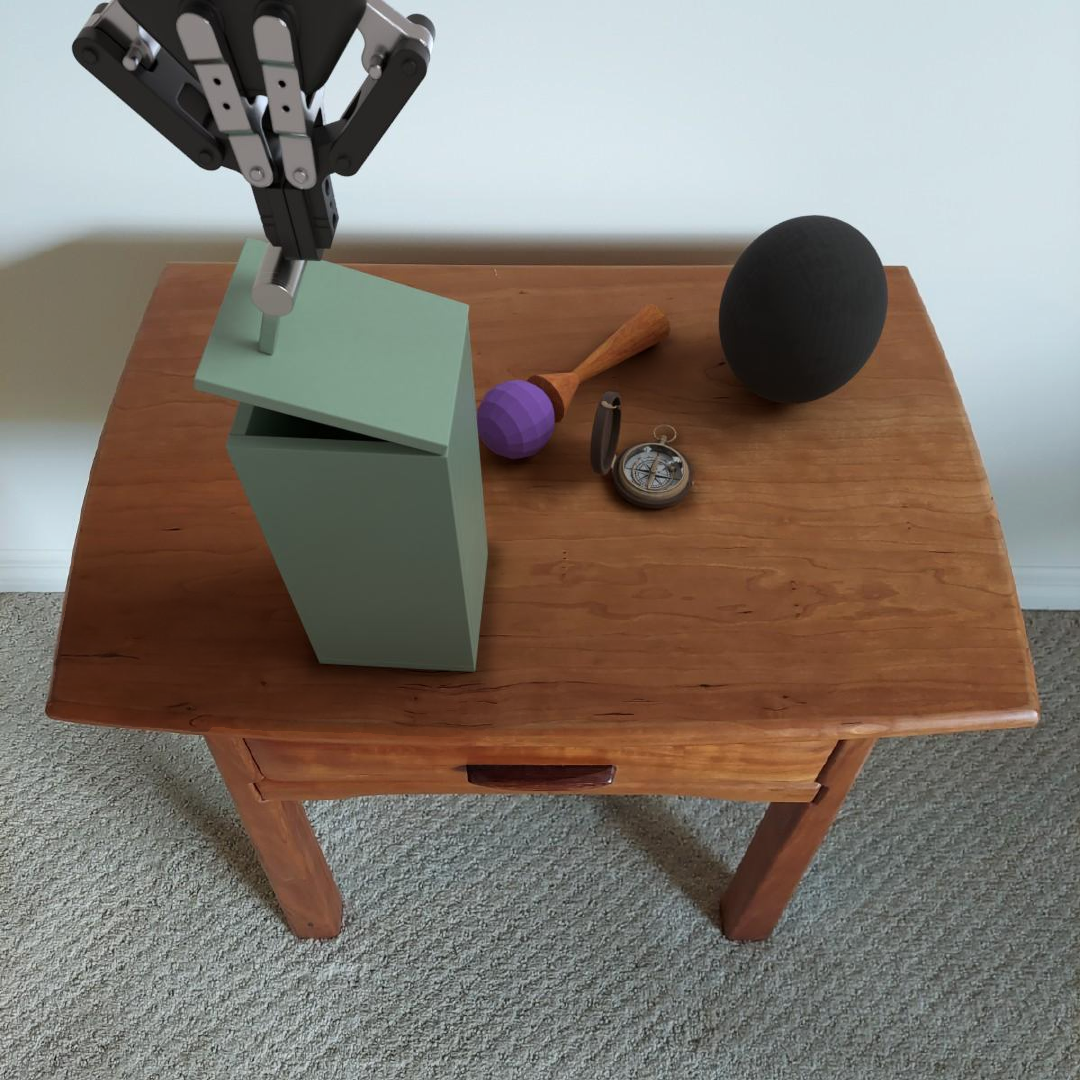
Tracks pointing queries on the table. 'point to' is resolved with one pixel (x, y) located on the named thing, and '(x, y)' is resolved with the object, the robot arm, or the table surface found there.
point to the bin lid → (336, 348)
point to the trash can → (372, 533)
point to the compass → (638, 461)
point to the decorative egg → (803, 309)
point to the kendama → (558, 389)
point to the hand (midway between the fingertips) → (308, 248)
